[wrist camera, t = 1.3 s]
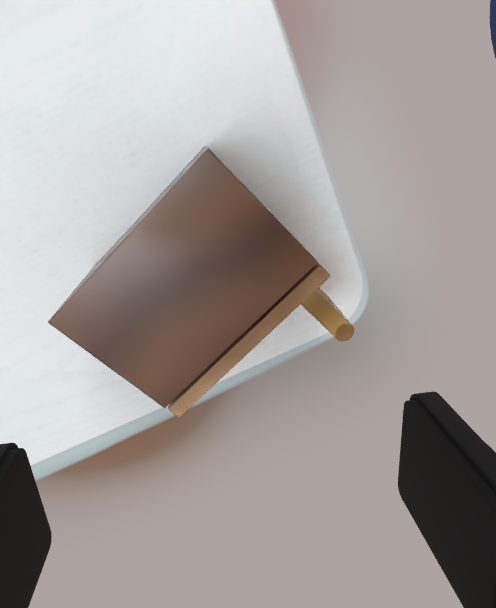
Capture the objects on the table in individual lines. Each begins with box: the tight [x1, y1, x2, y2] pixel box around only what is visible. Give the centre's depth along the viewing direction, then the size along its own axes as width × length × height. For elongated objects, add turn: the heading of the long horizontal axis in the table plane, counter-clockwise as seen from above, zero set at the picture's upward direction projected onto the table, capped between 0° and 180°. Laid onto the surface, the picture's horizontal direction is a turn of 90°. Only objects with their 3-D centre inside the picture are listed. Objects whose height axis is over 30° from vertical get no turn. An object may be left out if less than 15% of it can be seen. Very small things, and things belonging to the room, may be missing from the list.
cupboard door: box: [168, 262, 354, 417], centre depth 33 cm, size 6×14×10 cm, turn 135°
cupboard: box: [48, 146, 317, 408], centre depth 30 cm, size 9×14×11 cm, turn 135°
